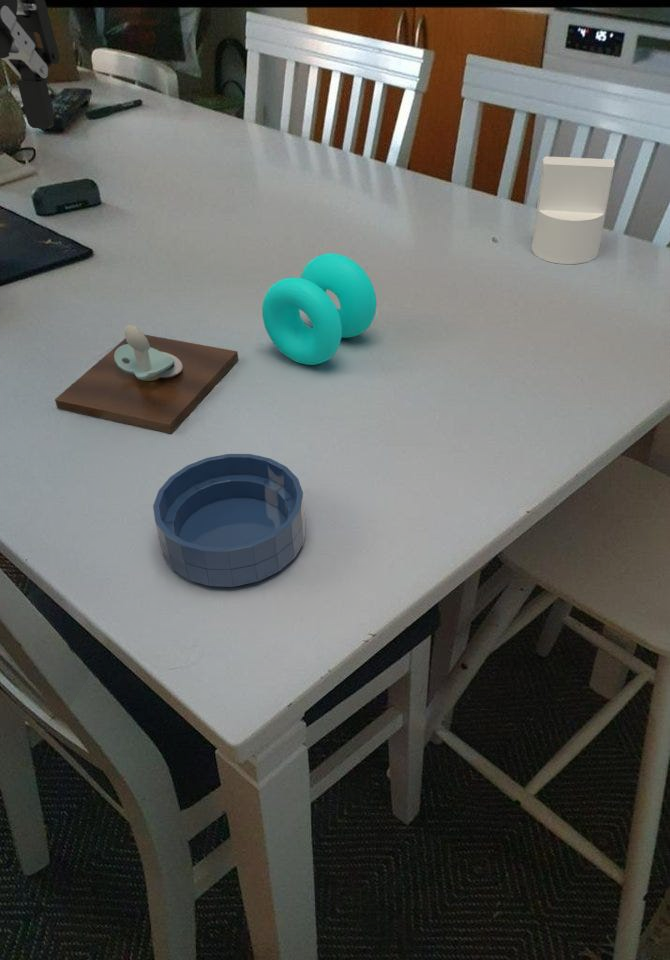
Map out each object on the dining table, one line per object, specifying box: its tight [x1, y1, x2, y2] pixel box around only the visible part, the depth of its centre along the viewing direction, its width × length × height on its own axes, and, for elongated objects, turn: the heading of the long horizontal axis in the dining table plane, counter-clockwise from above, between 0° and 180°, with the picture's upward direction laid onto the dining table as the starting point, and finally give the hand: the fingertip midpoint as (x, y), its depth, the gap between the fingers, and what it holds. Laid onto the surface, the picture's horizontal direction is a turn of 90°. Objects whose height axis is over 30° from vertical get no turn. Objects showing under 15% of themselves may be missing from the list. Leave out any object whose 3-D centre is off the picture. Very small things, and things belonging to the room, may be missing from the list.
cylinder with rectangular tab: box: [531, 156, 616, 265], centre depth 108 cm, size 9×9×12 cm
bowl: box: [152, 453, 307, 588], centre depth 68 cm, size 12×12×4 cm
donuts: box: [261, 252, 377, 366], centre depth 91 cm, size 10×10×10 cm
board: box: [54, 334, 239, 435], centre depth 89 cm, size 15×14×1 cm
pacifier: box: [114, 323, 183, 381], centre depth 87 cm, size 7×6×6 cm
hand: (9, 143), depth 65 cm, fingers open, 8 cm apart
